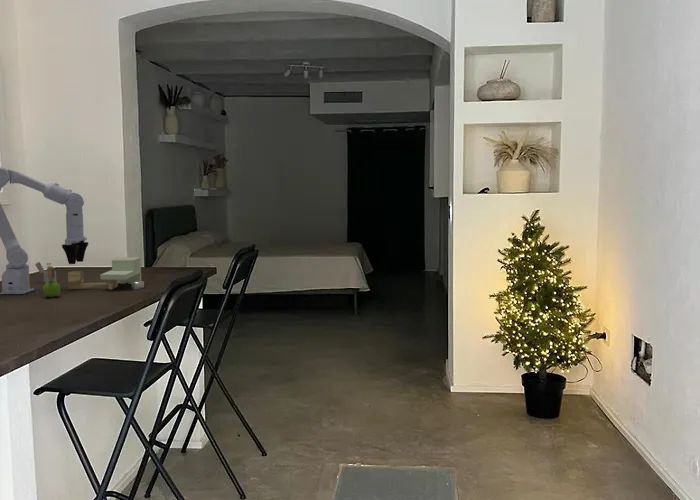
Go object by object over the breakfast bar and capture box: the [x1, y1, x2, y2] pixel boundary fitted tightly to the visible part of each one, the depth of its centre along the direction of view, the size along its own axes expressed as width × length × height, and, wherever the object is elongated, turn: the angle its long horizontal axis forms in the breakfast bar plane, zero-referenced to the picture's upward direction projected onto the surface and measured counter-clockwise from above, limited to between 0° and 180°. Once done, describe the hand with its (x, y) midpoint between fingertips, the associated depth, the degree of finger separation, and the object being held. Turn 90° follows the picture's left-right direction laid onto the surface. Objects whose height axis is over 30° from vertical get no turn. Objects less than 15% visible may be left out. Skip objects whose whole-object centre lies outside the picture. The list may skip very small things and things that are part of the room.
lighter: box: [34, 261, 57, 284], centre depth 248 cm, size 7×2×8 cm, turn 100°
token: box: [131, 280, 145, 290], centre depth 236 cm, size 4×4×2 cm
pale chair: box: [99, 256, 142, 285], centre depth 238 cm, size 20×9×10 cm, turn 3°
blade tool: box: [67, 270, 119, 290], centre depth 235 cm, size 7×16×6 cm, turn 93°
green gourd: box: [42, 262, 61, 298], centre depth 214 cm, size 5×6×12 cm
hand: (76, 262), depth 234 cm, fingers open, 7 cm apart
